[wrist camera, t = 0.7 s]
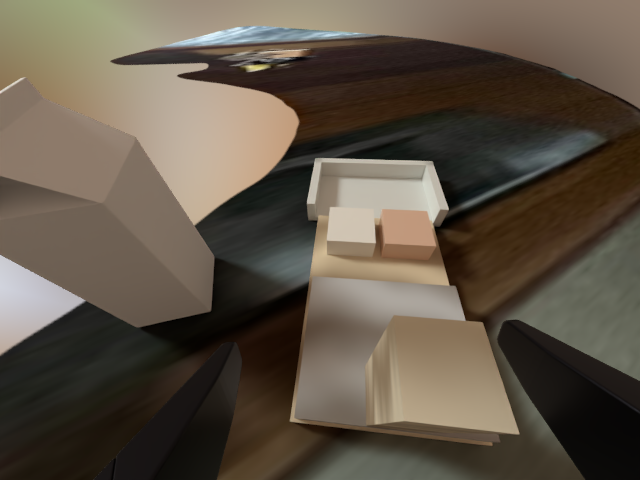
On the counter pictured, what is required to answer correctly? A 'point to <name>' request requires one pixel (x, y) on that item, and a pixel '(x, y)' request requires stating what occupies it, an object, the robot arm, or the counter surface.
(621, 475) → the robot arm
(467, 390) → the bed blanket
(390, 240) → the tile
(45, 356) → the counter surface
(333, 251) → the tile
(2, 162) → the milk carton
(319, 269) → the board
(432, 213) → the tray
